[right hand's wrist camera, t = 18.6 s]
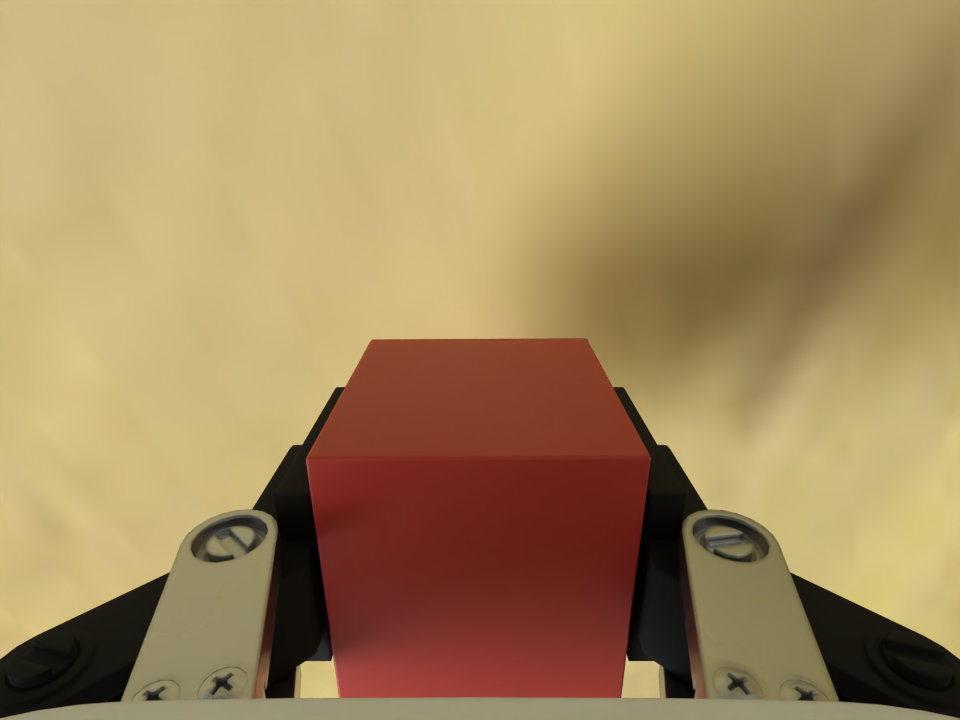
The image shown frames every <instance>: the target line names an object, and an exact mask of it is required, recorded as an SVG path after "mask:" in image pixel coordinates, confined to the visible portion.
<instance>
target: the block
mask: <svg viewBox="0 0 960 720" xmlns="http://www.w3.org/2000/svg"><path fill="white" fill-rule="evenodd" d="M650 460H651V457H650V455H649V453H648V451H647V449H646V447H645V446H644V444H643V442H642V440H641V438H640V436H639V434H638V433H637V431H636V429H635V427H634V425H633V423H632V422H631V420H630V418H629V416H628V414H627V412H626V411H625V409H624V407H623V405H622V403H621V401H620V399H619V398H618V396H617V394H616V392H615V390H614V388H613V387H612V385H611V383H610V381H609V379H608V377H607V375H606V374H605V372H604V370H603V368H602V366H601V364H600V363H599V361H598V359H597V357H596V355H595V353H594V352H593V350H592V348H591V346H590V344H589V342H588V340H587V339H585V338H574V339H389V340H371V341H370V343H369V345H368V347H367V349H366V350H365V352H364V354H363V356H362V358H361V360H360V361H359V363H358V365H357V367H356V369H355V370H354V372H353V374H352V376H351V378H350V379H349V381H348V383H347V385H346V387H345V389H344V390H343V392H342V394H341V396H340V398H339V399H338V401H337V403H336V405H335V407H334V409H333V410H332V412H331V414H330V416H329V418H328V419H327V421H326V423H325V425H324V427H323V428H322V430H321V432H320V434H319V436H318V438H317V439H316V441H315V443H314V445H313V447H312V448H311V450H310V452H309V454H308V456H307V458H306V464H307V471H308V479H309V486H310V493H311V500H312V507H313V514H314V521H315V529H316V536H317V543H318V550H319V557H320V564H321V572H322V579H323V586H324V593H325V600H326V607H327V614H328V622H329V629H330V636H331V643H332V650H333V657H334V664H335V672H336V679H337V686H338V693H339V698H445V697H515V698H621V694H622V686H623V678H624V670H625V662H626V654H627V646H628V638H629V630H630V622H631V614H632V606H633V597H634V589H635V581H636V573H637V565H638V557H639V549H640V541H641V533H642V525H643V517H644V509H645V501H646V492H647V484H648V476H649V468H650Z"/></svg>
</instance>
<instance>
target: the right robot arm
mask: <svg viewBox="0 0 960 720" xmlns="http://www.w3.org/2000/svg"><path fill="white" fill-rule="evenodd" d="M613 388H614V390H615V392H616V394H617V396H618V398H619V399H620V401H621V403H622V405H623V407H624V409H625V411H626V412H627V414H628V416H629V418H630V420H631V422H632V423H633V425H634V427H635V429H636V431H637V433H638V434H639V436H640V438H641V440H642V442H643V444H644V446H645V447H646V449H647V451H648V453H649V455H650V457H651V460H650V468H649V476H648V484H647V492H646V501H645V509H644V517H643V525H642V533H641V541H640V549H639V557H638V565H637V573H636V581H635V589H634V597H633V606H632V614H631V622H630V630H629V638H628V646H627V657H628V660H629V661H655V662H656V663H658V664H659V665H660V668H659V690H660V698H515V697H445V698H300V690H301V668H300V664H302V663H303V662H305V661H331V659H332V656H333V650H332V643H331V636H330V629H329V622H328V614H327V607H326V600H325V593H324V586H323V579H322V572H321V564H320V557H319V550H318V543H317V536H316V529H315V521H314V514H313V507H312V500H311V493H310V486H309V479H308V471H307V464H306V458H307V456H308V454H309V452H310V450H311V448H312V447H313V445H314V443H315V441H316V439H317V438H318V436H319V434H320V432H321V430H322V428H323V427H324V425H325V423H326V421H327V419H328V418H329V416H330V414H331V412H332V410H333V409H334V407H335V405H336V403H337V401H338V399H339V398H340V396H341V394H342V392H343V390H344V389H345V387H337V388H336V389H335V390H334V392H333V394H332V395H331V397H330V399H329V400H328V402H327V404H326V406H325V407H324V409H323V411H322V412H321V414H320V416H319V417H318V419H317V421H316V423H315V424H314V426H313V428H312V429H311V431H310V433H309V434H308V436H307V438H306V440H305V441H304V443H303V445H293V446H292V447H291V448H290V449H289V451H288V453H287V454H286V456H285V457H284V459H283V461H282V462H281V464H280V465H279V467H278V469H277V470H276V472H275V473H274V475H273V477H272V478H271V480H270V482H269V483H268V485H267V486H266V488H265V490H264V491H263V493H262V494H261V496H260V498H259V499H258V501H257V503H256V504H255V506H254V507H253V509H252V510H236V511H231V512H227V513H223V514H220V515H217V516H215V517H212V518H210V519H208V520H206V521H204V522H203V523H201V524H199V525H198V526H196V527H195V528H194V529H193V530H192V531H191V532H190V533H188V534H187V535H186V537H185V539H184V540H183V542H182V543H181V545H180V548H179V550H178V553H177V556H176V558H175V561H174V563H173V566H172V569H171V571H170V572H169V573H167V574H165V575H163V576H161V577H159V578H157V579H155V580H153V581H150V582H148V583H146V584H144V585H142V586H140V587H138V588H136V589H134V590H132V591H129V592H127V593H125V594H123V595H121V596H119V597H117V598H115V599H113V600H111V601H108V602H106V603H104V604H102V605H100V606H98V607H96V608H94V609H92V610H89V611H87V612H85V613H83V614H81V615H79V616H77V617H75V618H73V619H71V620H68V621H66V622H64V623H62V624H60V625H58V626H56V627H54V628H52V629H49V630H47V631H45V632H43V633H41V634H39V635H37V636H35V637H33V638H31V639H30V640H28V641H26V642H24V643H22V644H21V645H19V646H17V647H16V648H14V649H13V650H12V651H10V652H9V653H8V654H7V655H5V656H4V657H3V658H1V659H0V720H960V659H958V658H957V657H956V656H954V655H953V654H952V653H951V652H949V651H948V650H947V649H945V648H944V647H943V646H941V645H939V644H937V643H936V642H934V641H932V640H930V639H928V638H927V637H925V636H923V635H921V634H919V633H917V632H915V631H912V630H910V629H908V628H906V627H904V626H902V625H900V624H898V623H896V622H893V621H891V620H889V619H887V618H885V617H883V616H881V615H879V614H877V613H875V612H872V611H870V610H868V609H866V608H864V607H862V606H860V605H858V604H856V603H853V602H851V601H849V600H847V599H845V598H843V597H841V596H839V595H837V594H835V593H832V592H830V591H828V590H826V589H824V588H822V587H820V586H818V585H816V584H813V583H811V582H809V581H807V580H805V579H803V578H801V577H799V576H797V575H795V574H792V573H790V571H789V569H788V566H787V563H786V561H785V558H784V556H783V553H782V550H781V548H780V545H779V543H778V542H777V540H776V539H775V537H774V535H773V534H772V533H770V532H769V531H768V530H767V529H766V528H765V527H764V526H762V525H761V524H759V523H757V522H756V521H754V520H752V519H750V518H748V517H745V516H743V515H740V514H737V513H733V512H729V511H724V510H708V509H707V508H706V506H705V505H704V503H703V501H702V500H701V498H700V496H699V495H698V493H697V492H696V490H695V488H694V487H693V485H692V484H691V482H690V480H689V479H688V477H687V476H686V474H685V472H684V471H683V469H682V467H681V466H680V464H679V463H678V461H677V459H676V458H675V456H674V455H673V453H672V451H671V450H670V448H669V447H668V446H667V445H657V443H656V442H655V440H654V438H653V437H652V435H651V433H650V432H649V430H648V428H647V426H646V425H645V423H644V421H643V420H642V418H641V416H640V414H639V413H638V411H637V409H636V408H635V406H634V404H633V403H632V401H631V399H630V397H629V396H628V394H627V392H626V391H625V389H624V388H623V387H613Z"/></svg>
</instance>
